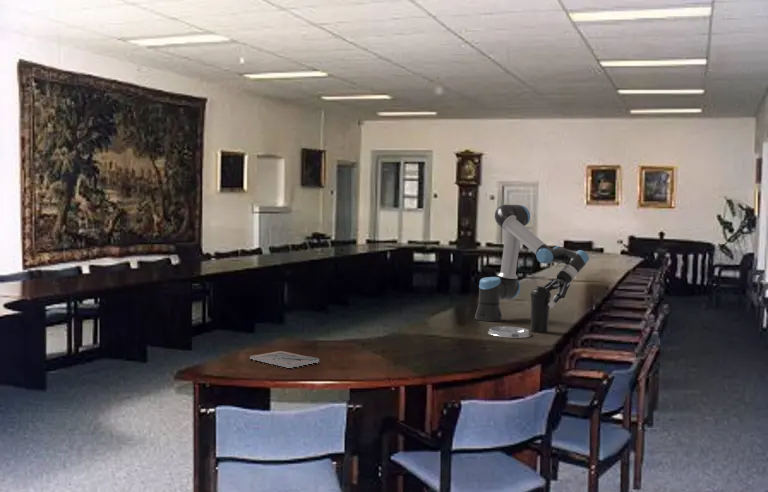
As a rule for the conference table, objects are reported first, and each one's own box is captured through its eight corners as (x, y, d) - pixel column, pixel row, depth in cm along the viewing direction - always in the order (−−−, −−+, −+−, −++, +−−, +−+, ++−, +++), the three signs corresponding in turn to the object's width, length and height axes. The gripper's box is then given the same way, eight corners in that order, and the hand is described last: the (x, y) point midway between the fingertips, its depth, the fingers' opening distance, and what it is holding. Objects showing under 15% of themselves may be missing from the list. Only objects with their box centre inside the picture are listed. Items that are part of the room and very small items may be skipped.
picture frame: (319, 364, 309) (280, 356, 323) (319, 358, 309) (280, 350, 323) (288, 370, 297) (250, 361, 310) (288, 364, 297) (250, 355, 310)
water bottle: (548, 330, 410) (550, 286, 408) (550, 333, 400) (552, 288, 398) (528, 329, 411) (530, 285, 409) (530, 332, 401) (531, 287, 399)
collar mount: (482, 330, 402) (482, 325, 402) (522, 330, 405) (522, 326, 405) (495, 337, 381) (495, 332, 381) (536, 338, 385) (536, 332, 384)
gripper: (548, 267, 420) (523, 296, 415) (578, 272, 397) (552, 302, 392) (556, 277, 423) (531, 306, 417) (586, 282, 400) (560, 312, 394)
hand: (541, 304), depth 405 cm, fingers open, 13 cm apart
